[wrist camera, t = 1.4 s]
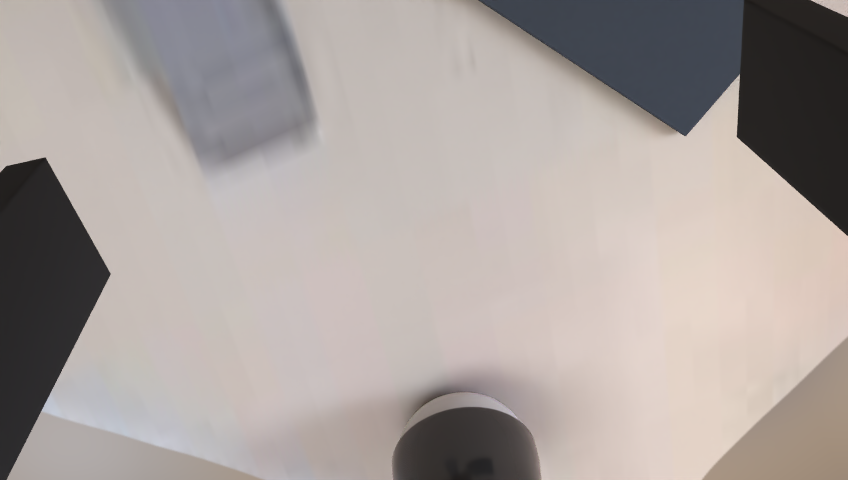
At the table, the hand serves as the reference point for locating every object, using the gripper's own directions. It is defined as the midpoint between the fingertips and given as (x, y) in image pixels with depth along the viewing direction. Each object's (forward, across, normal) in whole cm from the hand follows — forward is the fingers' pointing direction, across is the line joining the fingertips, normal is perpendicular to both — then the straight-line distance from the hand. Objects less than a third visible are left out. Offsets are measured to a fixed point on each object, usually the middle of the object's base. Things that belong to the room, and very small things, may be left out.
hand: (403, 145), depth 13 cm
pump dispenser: (+24, -2, -34) cm, 42 cm away
